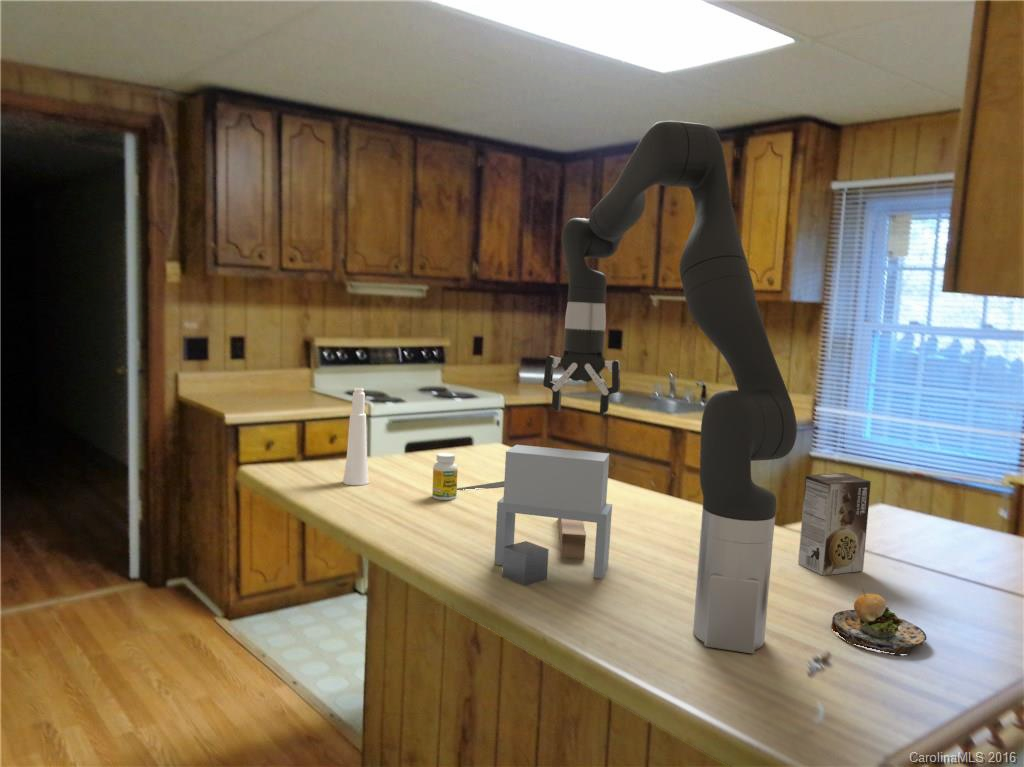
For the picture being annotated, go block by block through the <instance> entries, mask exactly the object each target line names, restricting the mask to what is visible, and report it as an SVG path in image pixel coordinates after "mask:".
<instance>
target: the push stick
mask: <svg viewBox="0 0 1024 767" xmlns="http://www.w3.org/2000/svg"><path fill="white" fill-rule="evenodd" d="M557 521H558V535H559V536H558V537H559V544H560V545H559V548H560V549H559V550H560V558H564V559H567V558H568V559H580V560H581V559H583V560H585V558H586V557H585V556H586V554H585V553H586V541H587V540H586V539H587V537H586V536H587V534H586V530H585V523H584V521H578V520H569V519H561V518H557Z"/></svg>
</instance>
